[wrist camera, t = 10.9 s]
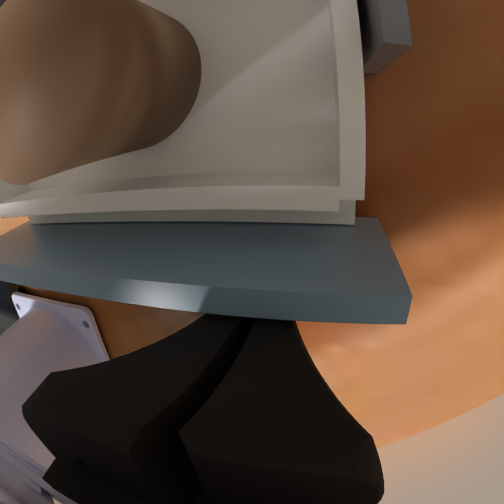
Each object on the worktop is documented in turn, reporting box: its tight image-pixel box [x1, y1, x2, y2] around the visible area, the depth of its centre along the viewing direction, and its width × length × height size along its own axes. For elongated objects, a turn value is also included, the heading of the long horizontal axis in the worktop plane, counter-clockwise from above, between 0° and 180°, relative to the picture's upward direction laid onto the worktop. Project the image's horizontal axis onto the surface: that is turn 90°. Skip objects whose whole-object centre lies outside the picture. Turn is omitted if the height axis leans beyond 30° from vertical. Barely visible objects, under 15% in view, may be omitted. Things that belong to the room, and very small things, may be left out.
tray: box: [0, 0, 412, 324], centre depth 8 cm, size 11×16×5 cm
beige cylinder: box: [0, 0, 201, 185], centre depth 7 cm, size 5×5×5 cm
